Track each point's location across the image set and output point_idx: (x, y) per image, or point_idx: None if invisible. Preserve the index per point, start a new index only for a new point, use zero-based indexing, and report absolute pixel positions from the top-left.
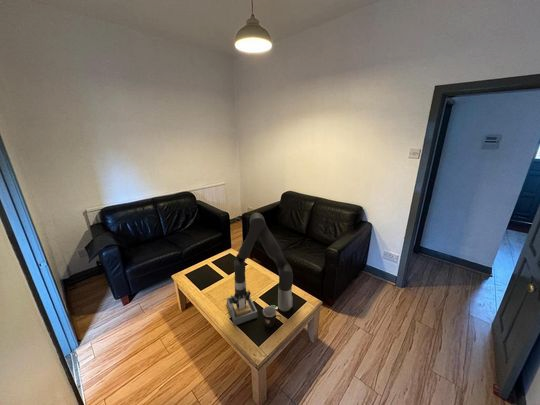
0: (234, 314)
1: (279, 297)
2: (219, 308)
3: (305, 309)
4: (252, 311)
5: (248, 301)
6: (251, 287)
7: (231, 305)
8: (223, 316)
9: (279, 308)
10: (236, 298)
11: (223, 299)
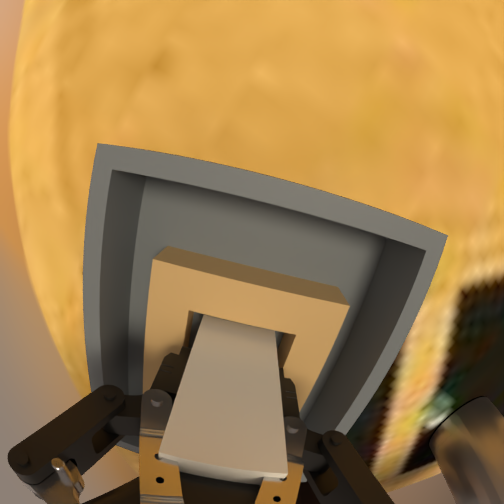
0: (144, 343)
1: (465, 496)
2: (62, 168)
3: None
4: (303, 405)
5: (362, 291)
6: (486, 127)
7: (161, 219)
8: (66, 281)
9: (435, 437)
10: (140, 437)
11: (144, 64)
